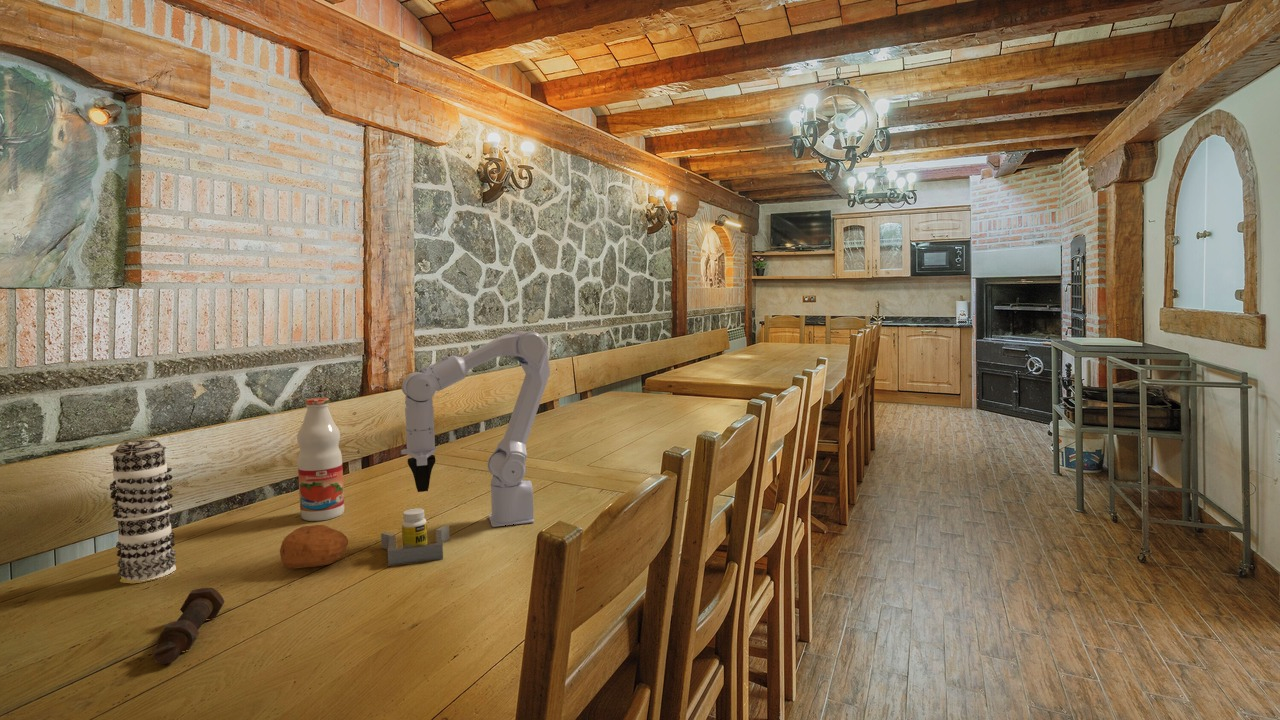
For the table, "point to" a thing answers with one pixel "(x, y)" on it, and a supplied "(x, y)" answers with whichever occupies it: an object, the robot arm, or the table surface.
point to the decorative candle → (142, 510)
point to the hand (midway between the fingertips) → (422, 490)
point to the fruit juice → (320, 464)
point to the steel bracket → (414, 549)
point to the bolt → (187, 624)
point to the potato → (312, 546)
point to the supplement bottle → (414, 528)
